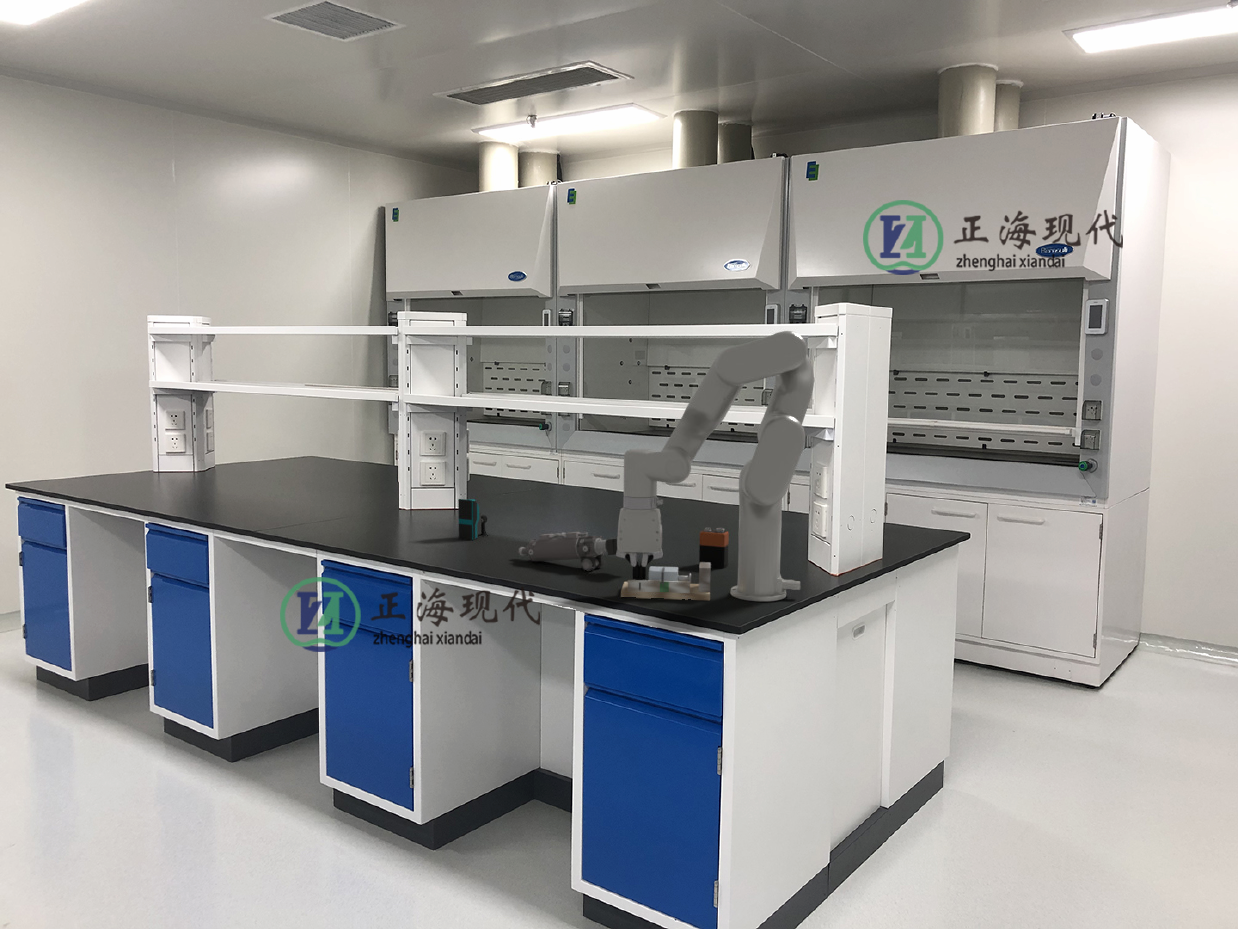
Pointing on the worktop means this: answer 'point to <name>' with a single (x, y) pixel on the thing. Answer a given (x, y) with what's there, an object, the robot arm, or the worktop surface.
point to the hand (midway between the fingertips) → (639, 582)
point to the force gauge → (666, 574)
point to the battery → (714, 547)
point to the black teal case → (470, 520)
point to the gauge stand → (671, 587)
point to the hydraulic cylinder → (571, 548)
